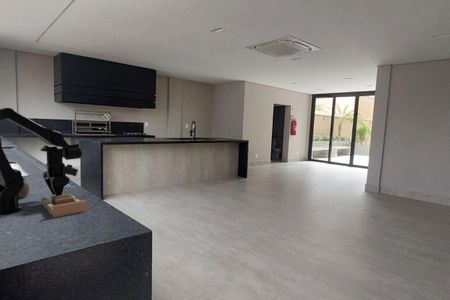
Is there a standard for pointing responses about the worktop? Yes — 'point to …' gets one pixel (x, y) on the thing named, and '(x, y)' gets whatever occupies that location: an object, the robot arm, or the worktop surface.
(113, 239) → the worktop surface
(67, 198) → the keeper
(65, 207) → the end stop
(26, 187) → the vase
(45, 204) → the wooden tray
